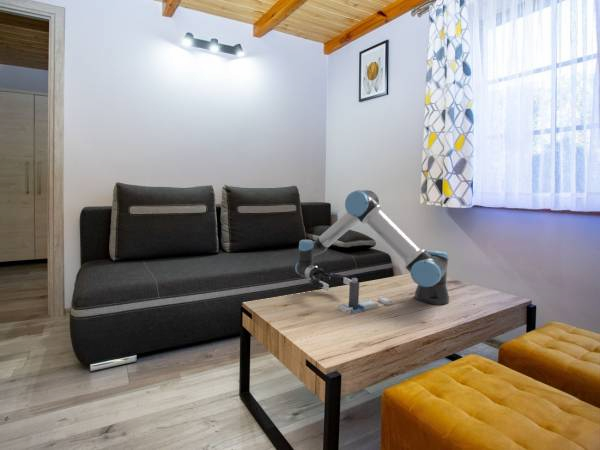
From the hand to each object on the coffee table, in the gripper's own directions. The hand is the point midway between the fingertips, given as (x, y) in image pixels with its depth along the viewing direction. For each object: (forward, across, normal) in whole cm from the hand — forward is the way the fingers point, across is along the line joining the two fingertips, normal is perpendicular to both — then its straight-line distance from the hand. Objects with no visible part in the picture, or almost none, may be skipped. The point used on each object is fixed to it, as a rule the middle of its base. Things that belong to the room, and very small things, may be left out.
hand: (340, 285), depth 156 cm
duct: (+10, -7, -8) cm, 14 cm away
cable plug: (+10, 0, -7) cm, 12 cm away
